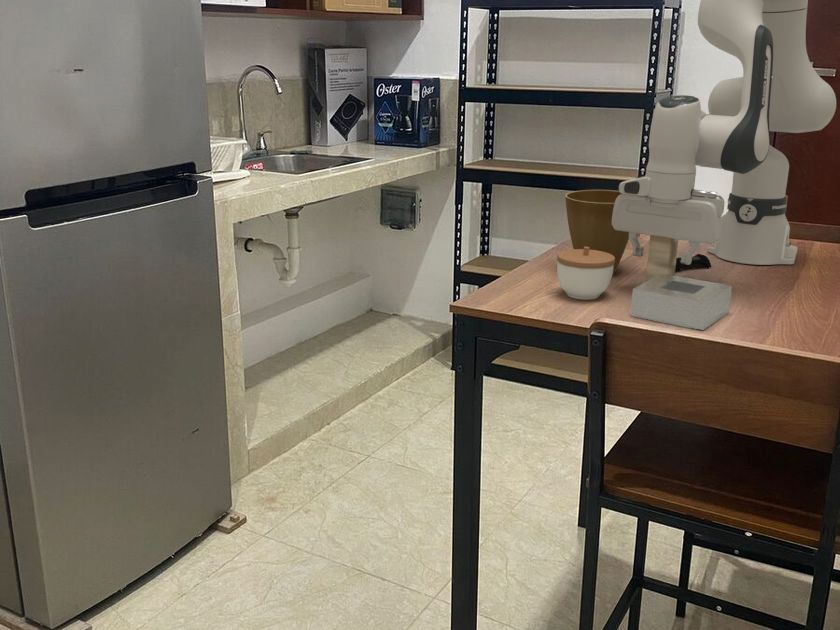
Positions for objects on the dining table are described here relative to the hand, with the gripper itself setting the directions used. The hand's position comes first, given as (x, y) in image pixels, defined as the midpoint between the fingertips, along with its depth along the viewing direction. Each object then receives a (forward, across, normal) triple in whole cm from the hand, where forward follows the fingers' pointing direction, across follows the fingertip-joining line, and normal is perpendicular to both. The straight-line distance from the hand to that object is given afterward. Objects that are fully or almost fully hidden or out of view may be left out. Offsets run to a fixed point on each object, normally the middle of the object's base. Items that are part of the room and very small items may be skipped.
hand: (661, 259), depth 160 cm
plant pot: (+7, +17, -9) cm, 20 cm away
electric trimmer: (+7, +4, -21) cm, 22 cm away
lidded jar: (+7, +11, +9) cm, 16 cm away
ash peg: (+7, 0, 0) cm, 7 cm away
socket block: (+7, -8, +10) cm, 14 cm away
